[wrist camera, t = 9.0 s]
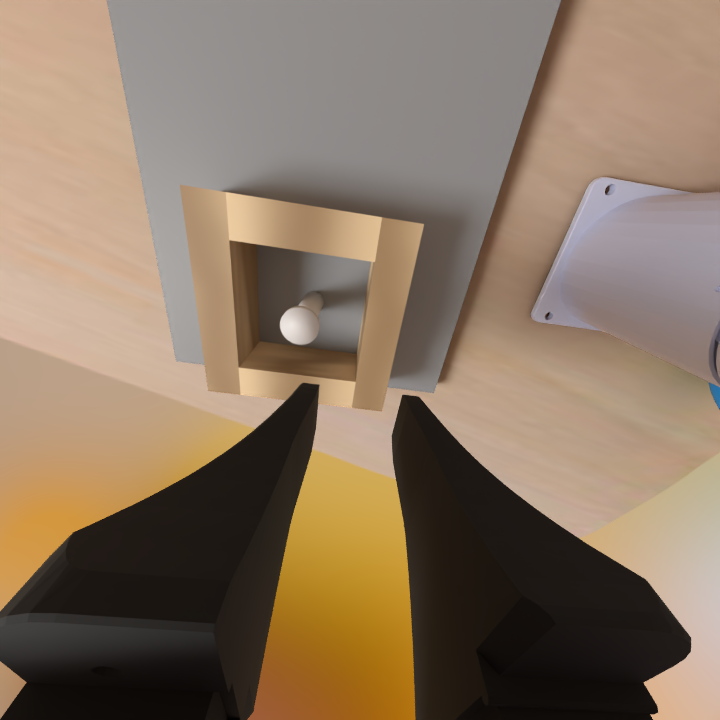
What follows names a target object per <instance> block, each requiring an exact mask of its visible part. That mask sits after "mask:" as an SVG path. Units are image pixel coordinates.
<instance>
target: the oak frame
mask: <svg viewBox="0 0 720 720" xmlns="http://www.w3.org/2000/svg"><path fill="white" fill-rule="evenodd" d="M180 190H181V198H182V205H183V212H184V219H185V227H186V234H187V241H188V248H189V255H190V263H191V270H192V277H193V284H194V292H195V299H196V306H197V313H198V320H199V328H200V335H201V342H202V349H203V357H204V364H205V371H206V378H207V386H208V391H213V392H221V393H230V394H238V395H247V396H255V397H264V398H272V399H281V400H287V399H288V398H289V397H290V396H291V395H292V393H293V392H294V391H295V390H296V389H297V388H298V386H299V385H300V384H302V383H310V384H319V385H320V387H319V398H318V404H324V405H332V406H341V407H349V408H358V409H366V410H375V411H382V409H383V404H384V400H385V396H386V391H387V387H388V382H389V378H390V373H391V369H392V365H393V360H394V356H395V351H396V347H397V342H398V338H399V333H400V329H401V325H402V320H403V316H404V311H405V307H406V302H407V298H408V294H409V289H410V285H411V280H412V276H413V271H414V267H415V263H416V258H417V254H418V249H419V245H420V240H421V236H422V232H423V227H424V224H420V223H414V222H408V221H402V220H396V219H389V218H383V217H377V216H371V215H365V214H359V213H352V212H346V211H340V210H334V209H328V208H321V207H315V206H309V205H303V204H297V203H290V202H284V201H278V200H272V199H266V198H260V197H253V196H247V195H241V194H235V193H229V192H222V191H216V190H210V189H204V188H198V187H191V186H185V185H180ZM257 244H258V245H265V246H271V247H278V248H285V249H291V250H298V251H304V252H311V253H318V254H324V255H331V256H338V257H344V258H351V259H357V260H364V261H371V264H370V270H369V277H368V283H367V290H366V297H365V303H364V310H363V316H362V323H361V329H360V336H359V342H358V349H357V354H354V353H346V352H338V351H331V350H323V349H315V348H308V347H300V346H292V345H284V344H277V343H269V342H261V341H260V334H259V301H258V268H257Z"/></svg>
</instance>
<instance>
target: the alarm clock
mask: <svg viewBox="0 0 720 720" xmlns="http://www.w3.org/2000/svg"><path fill="white" fill-rule="evenodd" d="M709 386H710V390H711V393H712V396H713V398H714V400H715V402H716V404H717V406H718V408H719V409H720V387H718V386H716V385H714V384H712V383H710V382H709Z"/></svg>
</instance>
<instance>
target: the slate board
mask: <svg viewBox="0 0 720 720" xmlns="http://www.w3.org/2000/svg"><path fill="white" fill-rule="evenodd" d="M560 2H561V0H107V4H108V9H109V14H110V19H111V25H112V30H113V35H114V40H115V45H116V51H117V56H118V61H119V66H120V71H121V77H122V82H123V87H124V92H125V97H126V103H127V108H128V113H129V118H130V123H131V129H132V134H133V139H134V144H135V149H136V155H137V160H138V165H139V170H140V175H141V181H142V186H143V191H144V196H145V201H146V207H147V212H148V217H149V222H150V227H151V233H152V238H153V243H154V248H155V253H156V259H157V264H158V269H159V274H160V279H161V285H162V290H163V295H164V300H165V306H166V311H167V316H168V321H169V326H170V332H171V337H172V342H173V347H174V352H175V358H176V361H177V362H186V363H194V364H202V365H205V364H204V357H203V349H202V342H201V335H200V328H199V320H198V313H197V306H196V299H195V292H194V284H193V277H192V270H191V263H190V255H189V248H188V241H187V234H186V227H185V219H184V212H183V205H182V198H181V190H180V185H185V186H191V187H198V188H204V189H210V190H216V191H222V192H229V193H235V194H241V195H247V196H253V197H260V198H266V199H272V200H278V201H284V202H290V203H297V204H303V205H309V206H315V207H321V208H328V209H334V210H340V211H346V212H352V213H359V214H365V215H371V216H377V217H383V218H389V219H396V220H402V221H408V222H414V223H420V224H424V227H423V232H422V236H421V240H420V245H419V249H418V254H417V258H416V263H415V267H414V271H413V276H412V280H411V285H410V289H409V294H408V298H407V302H406V307H405V311H404V316H403V320H402V325H401V329H400V333H399V338H398V342H397V347H396V351H395V356H394V360H393V365H392V369H391V373H390V378H389V382H388V387H389V388H398V389H406V390H414V391H422V392H430V393H434V391H435V388H436V385H437V382H438V379H439V376H440V373H441V370H442V366H443V363H444V360H445V357H446V354H447V351H448V348H449V345H450V342H451V339H452V336H453V332H454V329H455V326H456V323H457V320H458V317H459V314H460V311H461V308H462V305H463V302H464V298H465V295H466V292H467V289H468V286H469V283H470V280H471V277H472V274H473V271H474V268H475V265H476V261H477V258H478V255H479V252H480V249H481V246H482V243H483V240H484V237H485V234H486V231H487V227H488V224H489V221H490V218H491V215H492V212H493V209H494V206H495V203H496V200H497V197H498V193H499V190H500V187H501V184H502V181H503V178H504V175H505V172H506V169H507V166H508V163H509V159H510V156H511V153H512V150H513V147H514V144H515V141H516V138H517V135H518V132H519V129H520V125H521V122H522V119H523V116H524V113H525V110H526V107H527V104H528V101H529V98H530V95H531V92H532V88H533V85H534V82H535V79H536V76H537V73H538V70H539V67H540V64H541V61H542V58H543V54H544V51H545V48H546V45H547V42H548V39H549V36H550V33H551V30H552V27H553V24H554V20H555V17H556V14H557V11H558V8H559V5H560ZM370 264H371V261H364V260H357V259H351V258H344V257H338V256H331V255H324V254H318V253H311V252H304V251H298V250H291V249H285V248H278V247H271V246H265V245H258V244H257V268H258V301H259V334H260V341H261V342H269V343H277V344H284V345H292V346H300V347H308V348H315V349H323V350H331V351H338V352H346V353H354V354H357V349H358V342H359V336H360V329H361V323H362V316H363V310H364V303H365V297H366V290H367V283H368V277H369V270H370Z"/></svg>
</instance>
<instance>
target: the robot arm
mask: <svg viewBox="0 0 720 720" xmlns="http://www.w3.org/2000/svg"><path fill="white" fill-rule="evenodd" d="M608 185H609V187H610V189H609V192H608V193H607V194H605V189H606V187H607V186H608ZM548 312H550V314H549V316H548V317H546V318H545V315H546V314H547V313H548ZM531 318H532V319H533V320H535V321H537V322H542V323H549V324H556V325H563V326H570V327H577V328H584V329H591V330H598V331H604V332H606V333H608V334H610V335H612V336H614V337H616V338H618V339H620V340H622V341H624V342H627V343H629V344H631V345H633V346H635V347H637V348H639V349H641V350H643V351H645V352H647V353H649V354H652V355H654V356H656V357H658V358H660V359H662V360H664V361H666V362H668V363H670V364H672V365H674V366H677V367H679V368H681V369H683V370H685V371H687V372H689V373H691V374H693V375H695V376H697V377H699V378H702V379H704V380H706V381H708V382H710V383H712V384H714V385H716V386H718V387H720V192H708V193H692V192H686V191H681V190H675V189H670V188H664V187H659V186H653V185H647V184H642V183H636V182H631V181H625V180H620V179H614V178H609V177H601V178H597V179H594V180H593V181H592V182H591V183H590V184H589V186H588V187H587V190H586V192H585V194H584V196H583V199H582V201H581V203H580V205H579V207H578V210H577V212H576V214H575V216H574V219H573V221H572V223H571V225H570V227H569V230H568V232H567V234H566V236H565V239H564V241H563V243H562V245H561V247H560V250H559V252H558V254H557V256H556V259H555V261H554V263H553V265H552V268H551V270H550V272H549V274H548V276H547V279H546V281H545V283H544V285H543V288H542V290H541V292H540V294H539V296H538V299H537V301H536V303H535V305H534V308H533V310H532V312H531ZM319 387H320V385H319V384H310V383H302V384H300V385H299V386H298V388H297V389H296V390H295V391H294V392H293V393H292V395H291V396H290V397H289V398H288V399H287V400H286V401H285V402H284V403H283V404H282V405H281V406H280V407H279V408H278V409H277V410H276V411H275V412H274V413H273V414H272V415H271V416H270V417H269V418H267V419H266V420H265V421H264V422H263V423H262V424H261V425H259V426H258V427H257V428H256V429H255V430H254V431H253V432H251V433H250V434H249V435H247V436H246V437H245V438H244V439H242V440H241V441H240V442H238V443H237V444H236V445H234V446H233V447H232V448H230V449H229V450H228V451H226V452H225V453H223V454H222V455H220V456H219V457H217V458H216V459H214V460H213V461H211V462H209V463H208V464H207V465H205V466H203V467H202V468H200V469H199V470H197V471H196V472H194V473H192V474H190V475H189V476H187V477H185V478H183V479H182V480H180V481H178V482H176V483H174V484H172V485H171V486H169V487H167V488H165V489H163V490H161V491H159V492H158V493H156V494H154V495H152V496H150V497H148V498H146V499H144V500H142V501H140V502H138V503H136V504H134V505H132V506H130V507H128V508H125V509H123V510H121V511H119V512H117V513H115V514H113V515H110V516H109V517H106V518H104V519H102V520H100V521H98V522H95V523H93V524H91V525H89V526H87V527H85V528H82V529H80V530H78V531H75V532H73V534H72V535H70V536H69V538H67V539H66V540H65V542H64V543H63V544H62V545H61V546H60V547H59V548H58V549H57V550H56V551H55V552H54V553H53V554H52V555H51V556H50V557H49V558H48V559H47V560H46V561H45V562H44V563H43V564H42V566H41V567H40V568H39V569H38V570H37V571H36V572H35V573H34V574H33V576H32V577H31V578H30V579H29V580H28V581H27V582H26V583H25V585H24V586H23V587H22V588H21V589H20V590H19V591H18V592H17V593H16V595H15V596H14V597H13V598H12V599H11V600H10V601H9V602H8V604H7V605H6V606H5V607H4V608H3V609H2V610H1V611H0V661H1V662H2V663H3V664H5V665H6V666H7V667H9V668H10V669H11V670H12V671H13V672H15V673H16V674H17V675H18V676H20V677H21V678H22V679H23V680H25V681H26V682H27V683H26V684H25V686H24V687H23V688H22V690H21V691H20V693H19V694H18V695H17V697H16V698H15V699H14V701H13V702H12V704H11V705H10V707H9V708H8V709H7V711H6V712H5V714H4V715H3V716H2V718H1V719H0V720H247V719H248V718H249V717H250V715H251V714H252V713H253V711H254V705H255V700H256V695H257V689H258V684H259V678H260V673H261V668H262V663H263V658H264V653H265V647H266V642H267V637H268V632H269V627H270V622H271V617H272V611H273V606H274V601H275V596H276V591H277V586H278V581H279V576H280V571H281V567H282V562H283V556H284V552H285V547H286V542H287V537H288V533H289V528H290V524H291V519H292V516H293V512H294V508H295V505H296V502H297V498H298V495H299V492H300V488H301V485H302V482H303V478H304V475H305V472H306V469H307V465H308V462H309V458H310V455H311V451H312V446H313V441H314V435H315V430H316V421H317V409H318V398H319ZM392 452H393V464H394V470H395V476H396V481H397V487H398V492H399V498H400V503H401V509H402V515H403V520H404V527H405V535H406V547H407V557H408V558H407V559H408V571H409V585H410V600H411V618H412V636H413V656H414V657H413V658H414V684H415V716H416V720H653V719H652V717H651V715H650V714H656V713H658V708H657V705H656V703H655V701H654V700H653V698H652V696H651V695H650V693H649V692H648V690H647V688H646V686H645V685H644V683H643V682H645V681H647V680H649V679H651V678H653V677H654V676H656V675H658V674H660V673H662V672H664V671H665V670H667V669H669V668H671V667H673V666H674V665H676V664H678V663H679V662H680V661H682V660H684V659H685V658H686V657H687V655H688V654H689V653H690V652H691V637H690V636H689V634H688V633H687V632H686V631H685V629H684V628H683V627H682V625H681V624H680V623H679V622H678V620H677V619H676V618H675V617H674V615H673V614H672V613H671V611H670V610H669V609H668V607H667V606H666V605H665V603H664V602H663V601H662V600H661V598H660V597H659V596H658V595H657V593H656V592H655V591H654V589H653V588H652V587H651V586H650V584H649V583H648V582H647V581H646V580H645V579H644V578H642V577H641V576H639V575H637V574H636V573H634V572H632V571H631V570H629V569H627V568H625V567H624V566H623V565H621V564H619V563H618V562H616V561H614V560H613V559H611V558H609V557H608V556H606V555H604V554H603V553H601V552H599V551H598V550H596V549H595V548H593V547H591V546H589V545H588V544H586V543H585V542H583V541H582V540H580V539H579V538H577V537H576V536H574V535H573V534H571V533H570V532H568V531H567V530H565V529H564V528H562V527H561V526H559V525H558V524H556V523H555V522H554V521H552V520H551V519H549V518H548V517H546V516H545V515H544V514H542V513H541V512H539V511H538V510H537V509H535V508H534V507H533V506H531V505H530V504H529V503H527V502H526V501H525V500H523V499H522V498H521V497H520V496H518V495H517V494H516V493H514V492H513V491H512V490H511V489H509V488H508V487H507V486H506V485H504V484H503V483H502V482H501V481H500V480H498V479H497V478H496V477H495V476H494V475H493V474H492V473H490V472H489V471H488V470H487V469H486V468H485V467H484V466H482V465H481V464H480V463H479V462H478V461H477V460H476V459H475V458H474V457H473V456H472V455H471V454H470V453H469V452H468V451H467V450H466V449H465V448H464V447H463V446H462V445H461V444H460V443H459V442H458V441H457V440H456V439H455V438H454V437H453V436H452V435H451V433H450V432H449V431H448V430H447V429H446V428H445V427H444V426H443V424H442V423H441V422H440V421H439V420H438V419H437V417H436V416H435V415H434V414H433V413H432V412H431V410H430V409H429V408H428V407H427V406H426V404H425V403H424V402H423V401H422V400H421V399H420V398H419V397H417V396H409V395H402V399H401V403H400V406H399V410H398V414H397V418H396V422H395V426H394V430H393V433H392Z"/></svg>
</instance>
